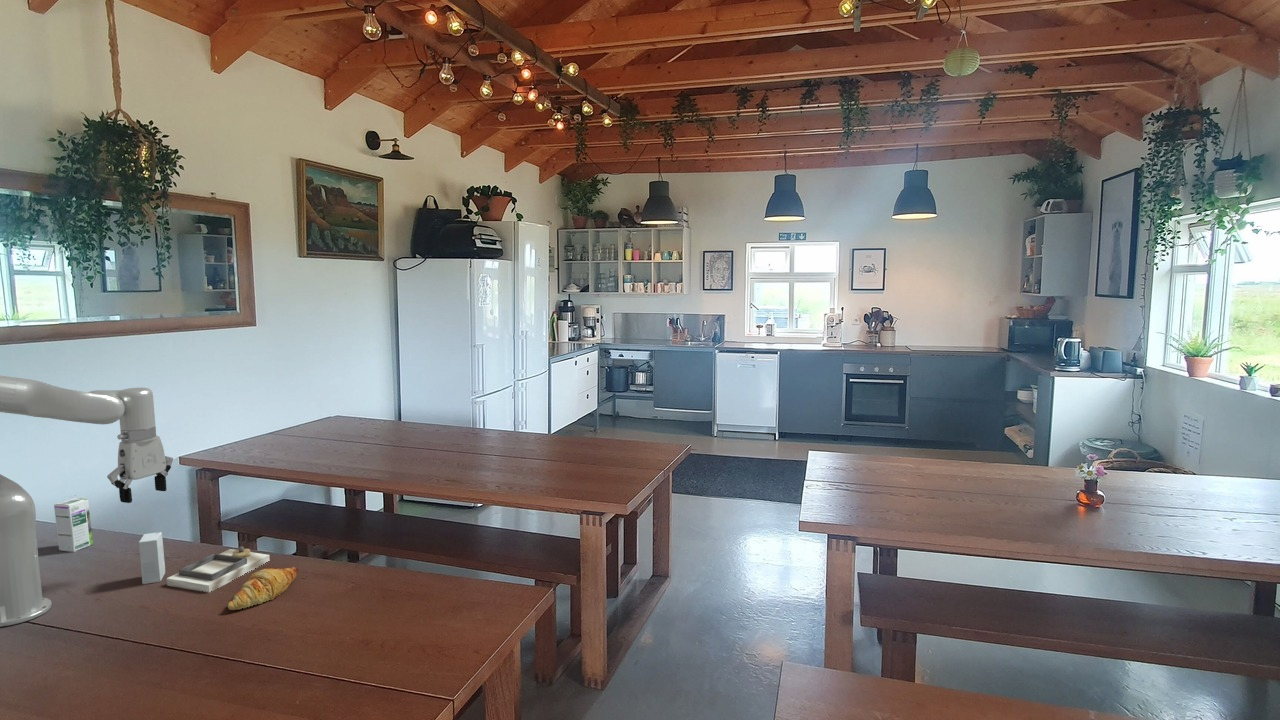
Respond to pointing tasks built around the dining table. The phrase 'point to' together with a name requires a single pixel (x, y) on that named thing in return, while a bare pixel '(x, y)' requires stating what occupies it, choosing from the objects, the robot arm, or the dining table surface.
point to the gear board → (217, 570)
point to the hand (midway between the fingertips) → (144, 496)
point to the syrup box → (73, 524)
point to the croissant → (263, 587)
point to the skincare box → (152, 558)
